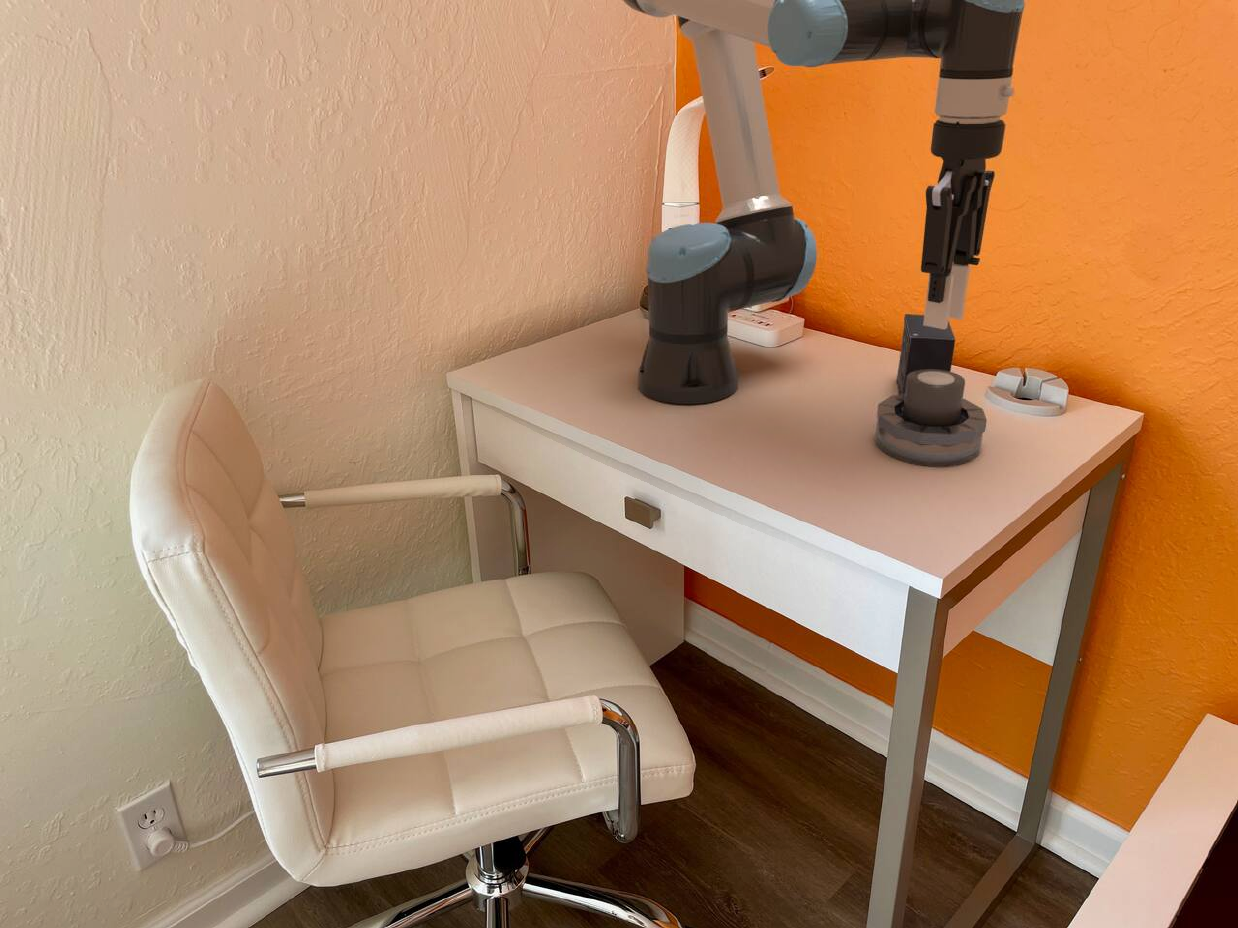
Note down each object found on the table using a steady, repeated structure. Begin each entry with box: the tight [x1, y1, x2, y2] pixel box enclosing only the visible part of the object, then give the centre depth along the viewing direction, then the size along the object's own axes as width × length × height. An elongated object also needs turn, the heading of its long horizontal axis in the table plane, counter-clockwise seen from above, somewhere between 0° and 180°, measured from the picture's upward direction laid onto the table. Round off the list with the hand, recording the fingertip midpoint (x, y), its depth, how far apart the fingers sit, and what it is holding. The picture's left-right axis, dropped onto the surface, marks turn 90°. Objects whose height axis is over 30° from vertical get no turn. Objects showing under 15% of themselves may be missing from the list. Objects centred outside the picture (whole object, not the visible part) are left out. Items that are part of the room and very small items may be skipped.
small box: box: [896, 313, 956, 395], centre depth 132 cm, size 11×6×10 cm, turn 168°
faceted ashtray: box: [875, 393, 987, 468], centre depth 119 cm, size 13×13×4 cm
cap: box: [902, 369, 966, 427], centre depth 117 cm, size 7×7×6 cm
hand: (943, 321), depth 112 cm, fingers open, 4 cm apart
